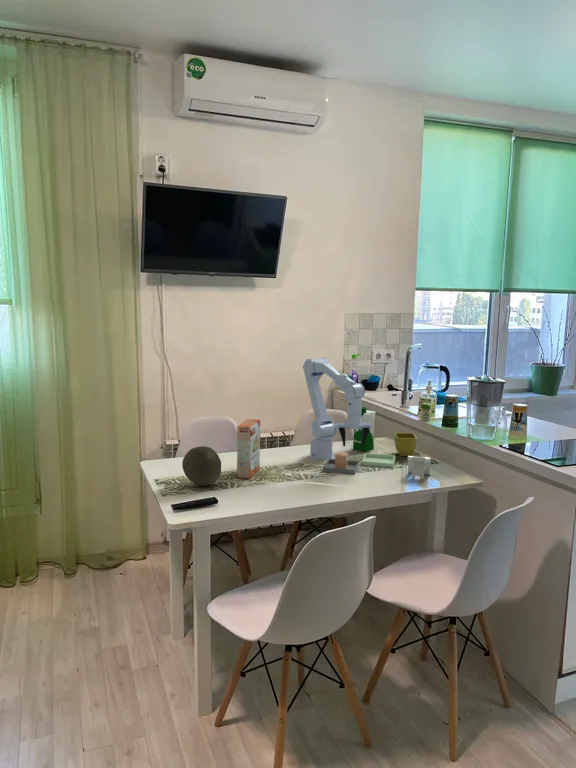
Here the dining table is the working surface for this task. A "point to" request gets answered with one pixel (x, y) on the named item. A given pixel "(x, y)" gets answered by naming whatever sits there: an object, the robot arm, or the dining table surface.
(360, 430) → the milk carton
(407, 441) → the flower pot
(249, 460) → the cracker box
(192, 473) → the dark olive ball
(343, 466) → the terracotta block
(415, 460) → the portable electronic device stand
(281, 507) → the dining table surface
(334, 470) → the charcoal tray
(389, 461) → the green tray
